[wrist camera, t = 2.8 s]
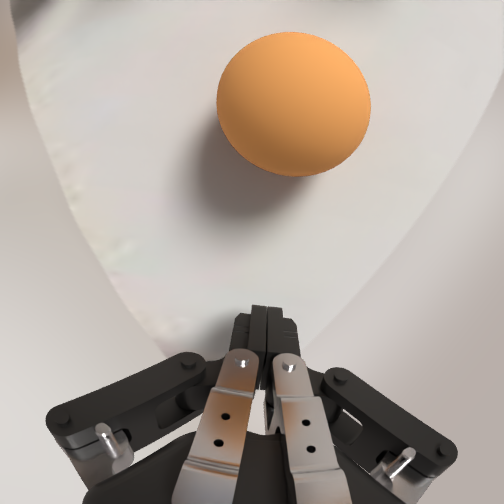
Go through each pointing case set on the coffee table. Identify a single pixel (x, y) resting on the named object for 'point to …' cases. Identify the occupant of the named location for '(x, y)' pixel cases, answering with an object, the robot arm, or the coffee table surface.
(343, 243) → the coffee table surface
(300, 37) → the ball
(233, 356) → the robot arm
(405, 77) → the coffee table surface
